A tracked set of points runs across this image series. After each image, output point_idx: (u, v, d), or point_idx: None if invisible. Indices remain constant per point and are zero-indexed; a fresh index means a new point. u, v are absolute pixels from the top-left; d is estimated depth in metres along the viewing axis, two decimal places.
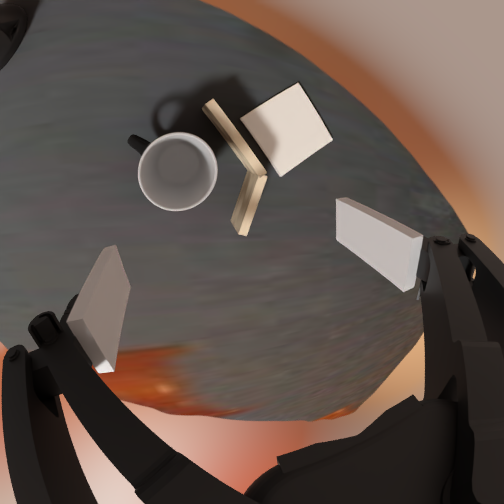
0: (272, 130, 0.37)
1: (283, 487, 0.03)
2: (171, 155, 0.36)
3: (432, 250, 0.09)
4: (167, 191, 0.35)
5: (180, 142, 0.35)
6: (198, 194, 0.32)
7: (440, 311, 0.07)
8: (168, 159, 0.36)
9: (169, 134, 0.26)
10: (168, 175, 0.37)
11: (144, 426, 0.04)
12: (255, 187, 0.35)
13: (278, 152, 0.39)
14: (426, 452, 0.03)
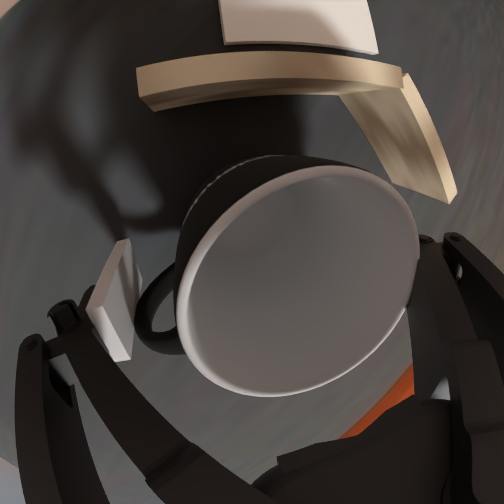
0: (287, 5, 0.11)
1: (283, 487, 0.03)
2: None
3: None
4: (296, 280, 0.16)
5: None
6: (372, 248, 0.11)
7: (426, 311, 0.07)
8: (226, 232, 0.17)
9: (183, 291, 0.07)
10: (257, 247, 0.18)
11: (159, 416, 0.05)
12: (414, 110, 0.11)
13: (337, 24, 0.12)
14: (426, 452, 0.03)
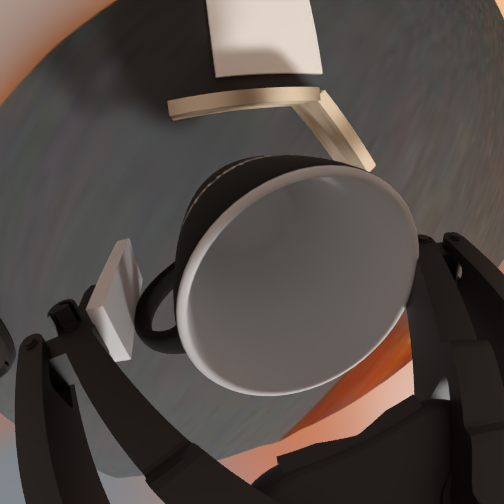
0: (256, 47, 0.20)
1: (283, 487, 0.03)
2: None
3: None
4: (295, 279, 0.16)
5: None
6: (371, 248, 0.11)
7: (426, 311, 0.07)
8: (226, 232, 0.17)
9: (183, 290, 0.07)
10: (257, 246, 0.18)
11: (160, 416, 0.05)
12: (329, 113, 0.20)
13: (290, 56, 0.21)
14: (426, 452, 0.03)
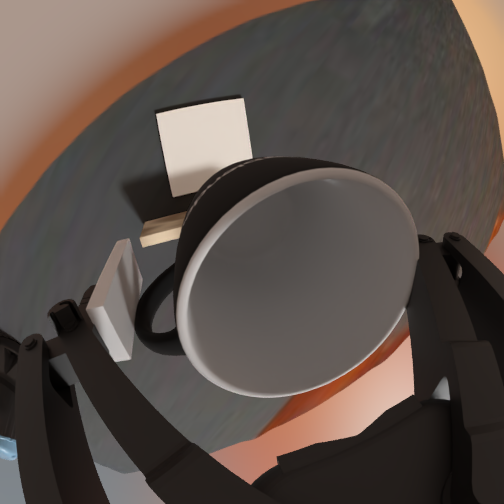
0: (200, 167, 0.33)
1: (283, 487, 0.03)
2: None
3: None
4: (295, 281, 0.16)
5: None
6: (371, 249, 0.11)
7: (426, 311, 0.07)
8: (226, 233, 0.17)
9: (183, 293, 0.07)
10: (257, 247, 0.18)
11: (160, 416, 0.05)
12: None
13: None
14: (426, 452, 0.03)
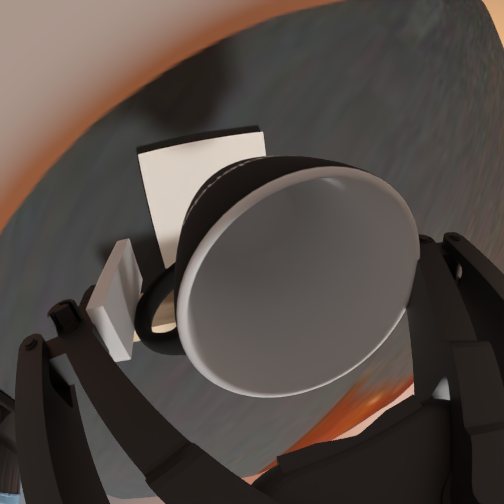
0: None
1: (283, 487, 0.03)
2: None
3: None
4: (296, 280, 0.16)
5: None
6: (372, 249, 0.11)
7: (426, 311, 0.07)
8: (227, 232, 0.17)
9: (183, 292, 0.07)
10: (257, 247, 0.18)
11: (160, 416, 0.05)
12: None
13: None
14: (426, 452, 0.03)
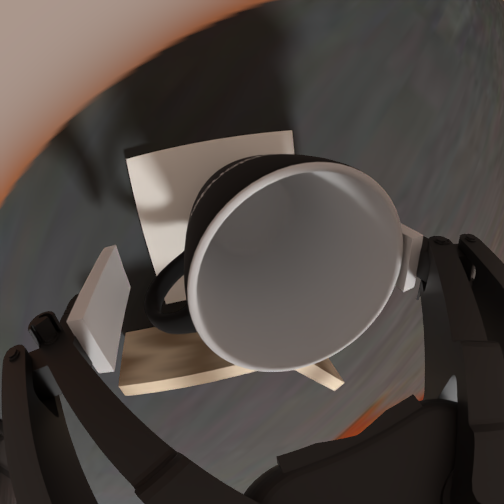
0: None
1: (283, 487, 0.03)
2: None
3: (432, 250, 0.09)
4: (293, 269, 0.17)
5: None
6: (361, 236, 0.13)
7: (440, 311, 0.07)
8: (229, 226, 0.18)
9: (193, 269, 0.08)
10: (257, 239, 0.19)
11: (144, 426, 0.04)
12: None
13: None
14: (426, 452, 0.03)
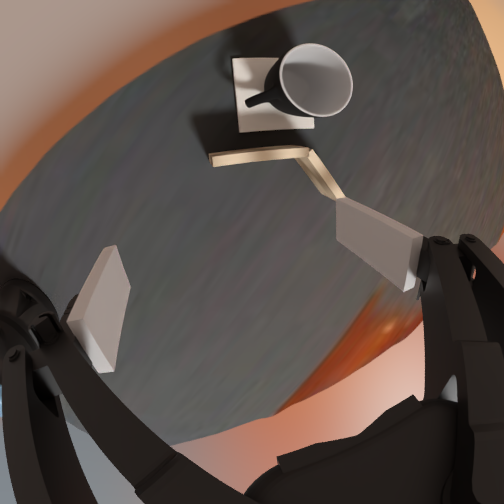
0: (268, 110, 0.34)
1: (283, 487, 0.03)
2: None
3: (432, 250, 0.09)
4: (310, 109, 0.31)
5: None
6: (338, 83, 0.27)
7: (440, 311, 0.07)
8: None
9: (282, 61, 0.22)
10: None
11: (144, 426, 0.04)
12: (314, 165, 0.33)
13: (292, 116, 0.35)
14: (426, 452, 0.03)
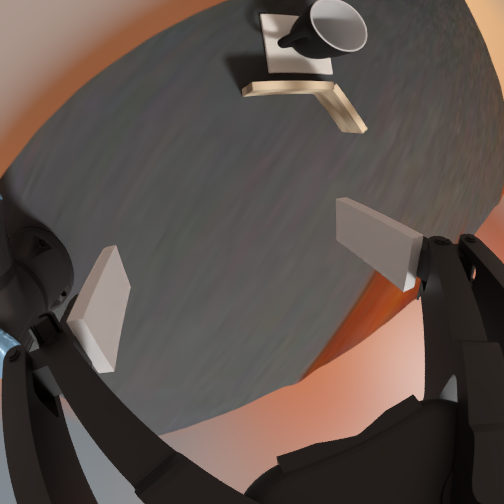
0: (293, 56, 0.33)
1: (283, 487, 0.03)
2: None
3: (432, 250, 0.09)
4: None
5: None
6: (353, 32, 0.27)
7: (440, 311, 0.07)
8: None
9: (312, 8, 0.22)
10: None
11: (144, 426, 0.04)
12: (339, 96, 0.33)
13: (313, 63, 0.34)
14: (426, 452, 0.03)
